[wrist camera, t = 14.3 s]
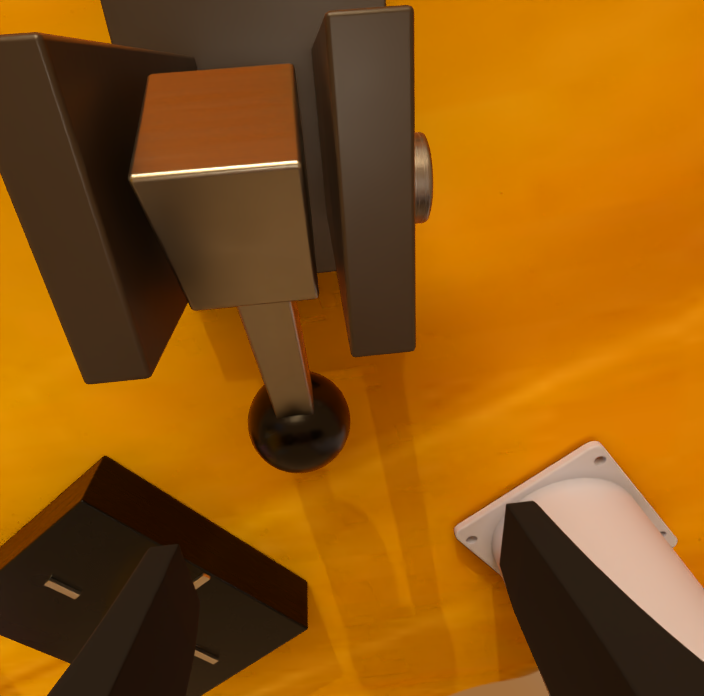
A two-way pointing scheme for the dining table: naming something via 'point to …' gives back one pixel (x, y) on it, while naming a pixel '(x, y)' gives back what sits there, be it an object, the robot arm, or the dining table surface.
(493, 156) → the dining table surface
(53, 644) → the plate
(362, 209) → the lever bracket
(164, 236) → the door lever
